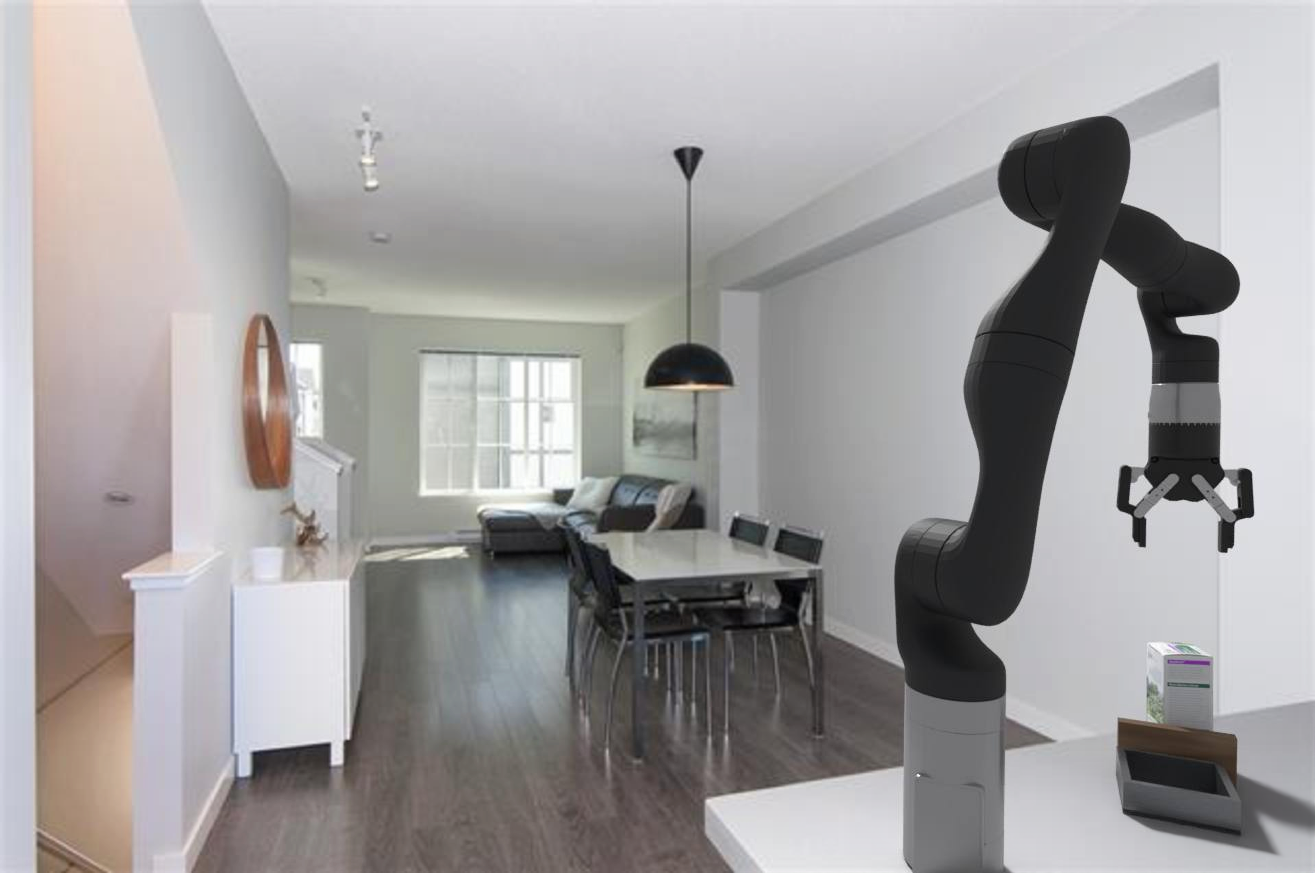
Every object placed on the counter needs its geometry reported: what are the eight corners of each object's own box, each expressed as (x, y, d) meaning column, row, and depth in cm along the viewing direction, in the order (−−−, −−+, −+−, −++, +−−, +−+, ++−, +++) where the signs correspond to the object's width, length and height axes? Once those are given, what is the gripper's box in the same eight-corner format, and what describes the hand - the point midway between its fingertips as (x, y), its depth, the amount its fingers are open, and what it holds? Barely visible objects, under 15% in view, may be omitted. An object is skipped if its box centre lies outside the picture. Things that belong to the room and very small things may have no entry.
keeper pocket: (1240, 835, 82) (1241, 802, 82) (1122, 812, 87) (1123, 781, 87) (1221, 792, 92) (1221, 762, 92) (1115, 774, 97) (1116, 745, 97)
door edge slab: (1236, 790, 93) (1237, 739, 92) (1117, 769, 98) (1118, 721, 98) (1233, 784, 94) (1234, 734, 94) (1116, 764, 99) (1117, 717, 99)
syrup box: (1215, 773, 97) (1217, 655, 97) (1161, 769, 98) (1163, 652, 98) (1193, 754, 103) (1195, 642, 102) (1143, 750, 104) (1145, 640, 103)
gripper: (1120, 420, 99) (1118, 549, 100) (1261, 420, 93) (1258, 558, 93) (1116, 420, 106) (1114, 541, 106) (1247, 420, 100) (1244, 549, 100)
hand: (1181, 549), depth 100 cm, fingers open, 8 cm apart
